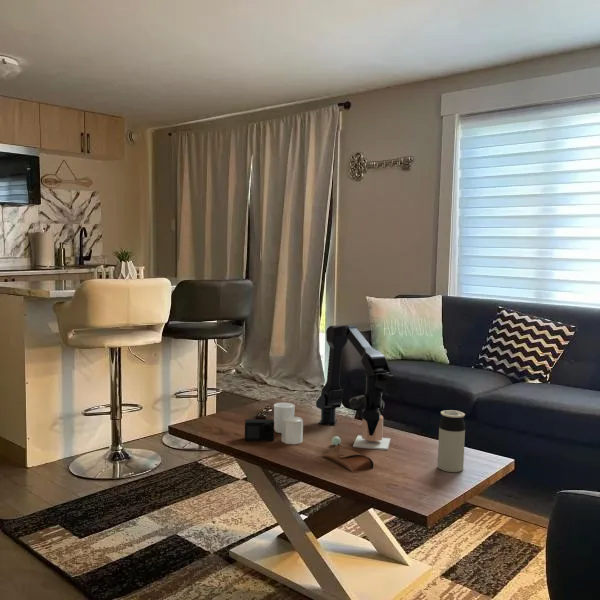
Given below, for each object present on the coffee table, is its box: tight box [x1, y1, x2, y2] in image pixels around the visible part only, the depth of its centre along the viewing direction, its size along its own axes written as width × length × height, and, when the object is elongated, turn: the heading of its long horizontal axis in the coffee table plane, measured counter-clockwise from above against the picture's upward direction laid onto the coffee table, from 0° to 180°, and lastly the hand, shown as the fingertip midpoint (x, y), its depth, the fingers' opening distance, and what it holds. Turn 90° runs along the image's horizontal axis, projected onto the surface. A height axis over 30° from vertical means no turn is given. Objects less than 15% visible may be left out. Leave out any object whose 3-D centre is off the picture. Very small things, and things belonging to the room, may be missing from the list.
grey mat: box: [352, 435, 391, 451], centre depth 217 cm, size 12×12×1 cm
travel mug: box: [437, 409, 466, 473], centre depth 193 cm, size 8×8×18 cm
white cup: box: [273, 402, 296, 434], centre depth 229 cm, size 8×8×10 cm
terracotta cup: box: [361, 414, 384, 441], centre depth 217 cm, size 7×7×8 cm
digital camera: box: [244, 418, 275, 442], centre depth 218 cm, size 10×5×7 cm, turn 96°
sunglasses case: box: [321, 443, 374, 473], centre depth 197 cm, size 18×7×7 cm
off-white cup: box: [281, 416, 304, 445], centre depth 217 cm, size 7×7×8 cm
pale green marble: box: [331, 435, 342, 446], centre depth 214 cm, size 3×3×3 cm
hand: (372, 432), depth 217 cm, fingers closed on terracotta cup, 7 cm apart
